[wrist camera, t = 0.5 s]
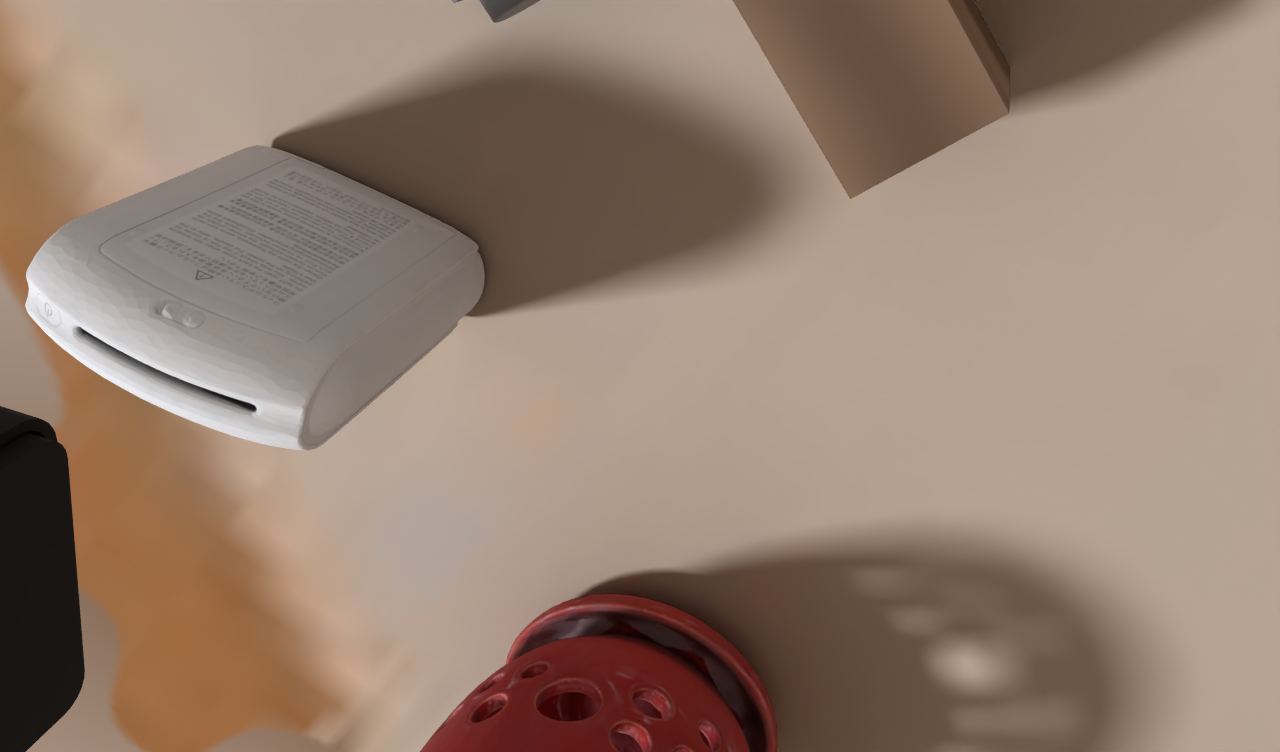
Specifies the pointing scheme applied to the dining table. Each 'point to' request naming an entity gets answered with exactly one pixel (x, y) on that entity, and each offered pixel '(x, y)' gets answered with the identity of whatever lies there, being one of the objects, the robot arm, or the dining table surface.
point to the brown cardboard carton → (883, 77)
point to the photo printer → (255, 294)
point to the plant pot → (615, 687)
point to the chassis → (504, 8)
